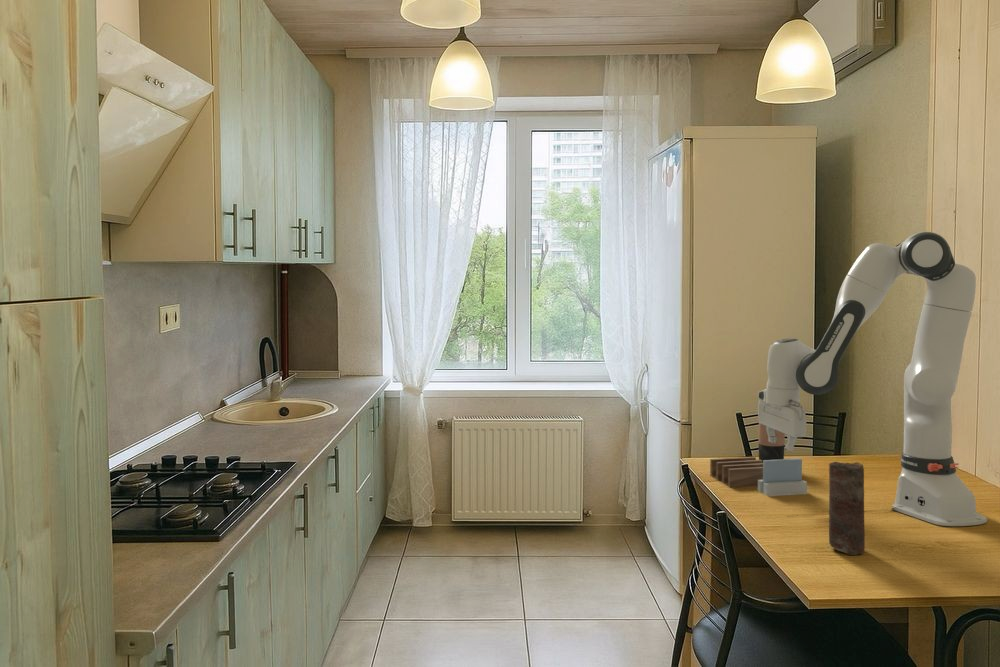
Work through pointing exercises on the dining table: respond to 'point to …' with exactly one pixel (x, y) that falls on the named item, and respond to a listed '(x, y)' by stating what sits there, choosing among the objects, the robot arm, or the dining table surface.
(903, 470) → the robot arm
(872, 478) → the dining table surface
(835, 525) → the dark brown tall block
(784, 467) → the side plate
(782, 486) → the plate stand
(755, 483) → the dish rack
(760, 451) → the travel mug
